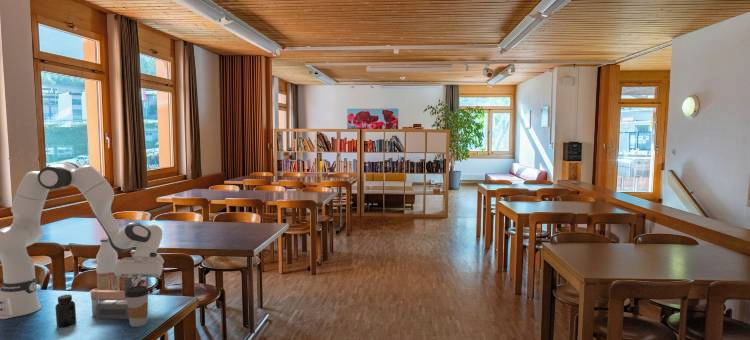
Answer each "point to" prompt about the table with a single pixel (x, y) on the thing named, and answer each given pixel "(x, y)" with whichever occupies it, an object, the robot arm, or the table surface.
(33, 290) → the robot arm
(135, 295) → the coffee cup
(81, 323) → the table surface
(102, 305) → the box
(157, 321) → the table surface
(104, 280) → the fruit juice
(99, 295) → the swing arm
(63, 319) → the supplement bottle
